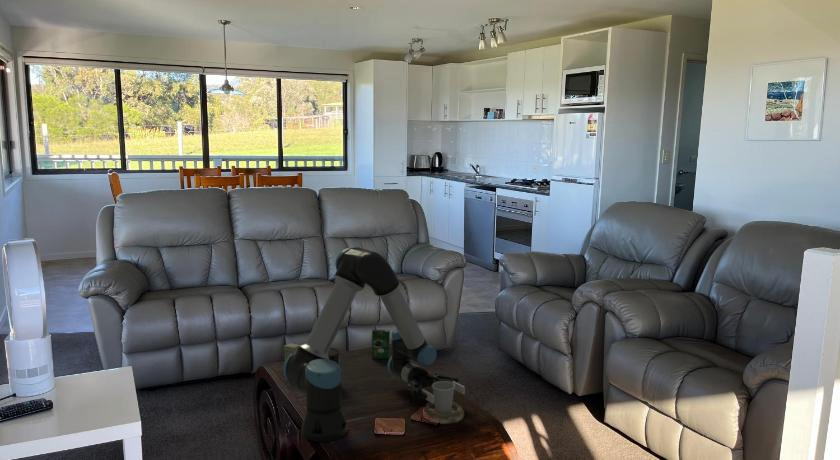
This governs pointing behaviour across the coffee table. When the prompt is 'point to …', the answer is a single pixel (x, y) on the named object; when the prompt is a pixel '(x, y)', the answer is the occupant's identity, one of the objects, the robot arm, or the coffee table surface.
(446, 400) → the dixie cup
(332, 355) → the coffee can
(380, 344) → the coffee box
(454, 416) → the rimmed coaster
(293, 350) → the skincare box
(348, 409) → the coffee table surface
